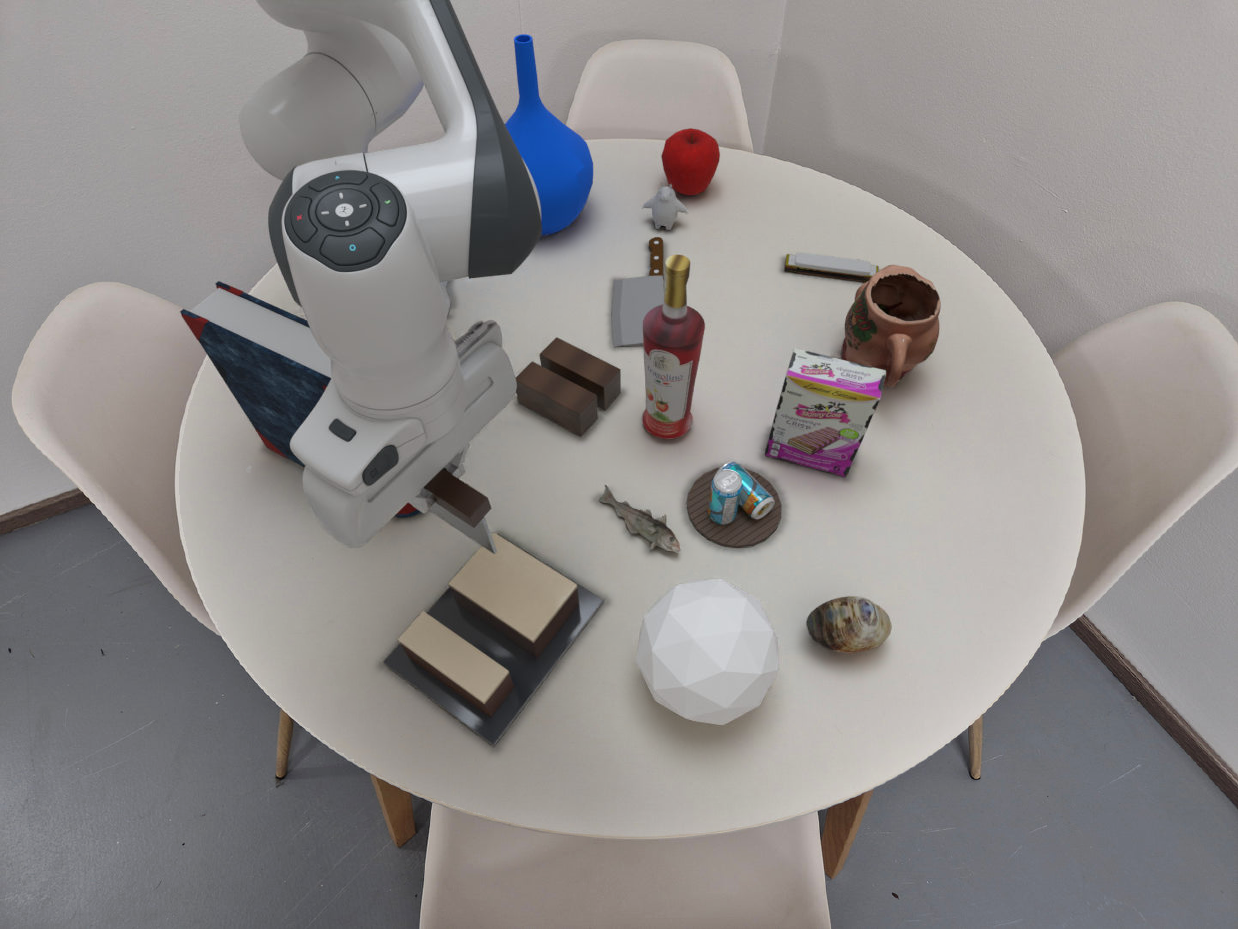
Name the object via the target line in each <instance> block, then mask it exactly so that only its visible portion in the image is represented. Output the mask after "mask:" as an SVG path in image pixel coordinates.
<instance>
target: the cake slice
mask: <svg viewBox="0 0 1238 929" xmlns="http://www.w3.org/2000/svg"><path fill="white" fill-rule="evenodd" d="M397 641H398V643H400V644H401V646H402V648H403V649H404V651H405V652H406V654H407V656H408V657H409V658H410V659H412V660H413V661H414V662H416V663H417V664H418V665H420V666H421V667H423V668H424V669H425V670H427V671H428V672H429V673H431V674H432V675H433V676H435V677H436V678H438V679H439V680H440V681H442V682H443V683H444V684H446V685H447V686H448V687H450V688H451V689H452V690H454V691H455V692H457V693H458V694H459V695H461V696H462V697H463V698H465V699H466V700H467V701H469V702H470V703H471V704H473V705H474V706H476V707H477V708H478V709H480V710H481V711H482V712H484V713H485V714H486V715H488V716H489V717H492V715H493V714H494V713H495V712H496V710H497V709H498V708H499V706H500V705H501V704H502V702H503V701H504V700H505V699H506V697H507V696H508V695H509V693H510V692H511V691H512V690H513V688H514V685H513V682H512V679H511V677H510V674H509V671H508V670H507V669H505V668H504V667H502V666H501V665H500V664H498V663H497V662H495V661H494V660H492V659H491V658H490V657H488V656H487V655H485V654H484V653H482V652H481V651H480V650H478V649H477V648H475V647H474V646H473V645H471V644H470V643H468V642H467V641H465V640H464V639H463V638H461V637H460V636H458V635H457V634H455V633H454V632H453V631H451V630H450V629H448V628H447V627H445V626H444V625H443V624H441V623H440V622H438V621H437V620H436V619H434V618H433V617H431V616H430V615H428V614H427V611H424V610H422V611H421V613H419V615H418V616H417V617H416V618H415V619H414V620H413V622H411V624H410V625H409V626H408V627H407V628H406V629H405V630H404V631H403V632H402V634H401V635H400V636H399V637H398V638H397Z"/></svg>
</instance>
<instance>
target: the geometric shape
mask: <svg viewBox="0 0 1238 929" xmlns="http://www.w3.org/2000/svg"><path fill="white" fill-rule="evenodd" d="M766 612H767V611H766V610H765V608H764V606H763V604H762V602H761V600H760V598H758V597H757V596H754V594H750V593H749V592H747V591H745V590H743V589H741V588H739V587H737V586H736V585H735V584H734V585H733V584H732V583H730V582H728V581H726V580H725V579H722V578H719V577H718V578H706V579H705V578H704V579H692V580H689V581H685V582H683V583H682V582H681V583H679V584H676V585H675V586H673V587H672V588H671V589H670V590H668V591H667V592H666V593H665V594H663V595H662V596H661V597H659V598H658V600H657V601H656V602H655V603H654V604H653V605H652V606H651V607H650V609H649V610H648V611H647V612H646V613H645V615H644V616H643V619H642V623H641V626H640V630H639V636H638V638H639V639H638V644H637V649H636V650H637V651H636V659H635V663H636V665H637V668H638V669H639V671H640V673H641V675H642V677H643V679H644V681H645V683H646V686H647V687H648V689H649V691H650V694H651V695H652V698H653V699H654V702H656V703H658V704H659V705H661V706H662V707H664V708H666V709H668V710H670V711H672V712H673V713H675V714H677V715H679V716H681V717H682V718H684V719H686V720H689V721H693V722H697V723H705V724H712V725H719V726H724V725H726V724H728V723H730V722H732V721H734V720H736V719H738V718H740V717H742V716H743V715H745V714H747V713H749V712H751V711H752V710H755V709H757V708H758V707H760V706H761V704H762V702H763V700H764V699H765V696H766V695H767V693H768V691H769V689H770V688H771V686H772V684H773V682H774V680H775V679H776V676H777V675H778V673H779V671H780V669H781V668H780V652H779V638H778V636H777V633H776V632H775V630H774V627H773V625H772V624H771V621H770V619H769V617H768V615H767V613H766Z"/></svg>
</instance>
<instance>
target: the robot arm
mask: <svg viewBox="0 0 1238 929" xmlns="http://www.w3.org/2000/svg"><path fill="white" fill-rule="evenodd" d="M255 3H256V4H258V6H259V7H260V8H261V9H262V10H263V11H264V12H265V13H266V14H267V15H268V16H269V17H270V18H271V19H273V20H274V21H276V22H277V23H278V24H281V25H283V26H285V27H288V28H291V29H295V30H298V31H302V32H303V34H304V36H305V39H306V43H307V50H306V54H305V55H304V56H303V57H302V58H300V59H299V60H297V61H295V62H294V63H292V64H291V65H290V66H288V67H286V68H284V69H283V70H282V71H280V72H278V73H277V74H275V75H274V76H272V77H270V78H269V79H267V80H266V81H264V83H263V84H262V85H261V86H260V87H259V88H258V89H257V91H256V92H255V93H254V94H253V95H252V96H251V97H250V98H249V99H248V100H247V102H245V105H244V106H243V107H242V108H241V109H240V112H239V116H238V121H239V122H238V124H239V131H240V135H241V138H242V141H243V144H244V146H245V148H246V150H247V151H248V153H249V155H250V156H251V158H252V159H253V160H254V161H255V163H257V165H258V166H259V167H260V168H261V169H262V170H264V172H266V173H267V174H269V175H270V176H272V177H273V178H276V179H277V180H279V181H281V183H280V185H279V187H278V189H277V190H276V193H275V195H274V196H273V198H272V201H271V202H270V205H269V207H268V213H267V214H268V215H267V218H268V219H267V227H268V234H269V239H270V244H271V247H272V252H273V254H274V258H275V260H276V263H277V266H278V269H279V270H280V273H281V275H282V277H283V280H284V282H285V284H286V287H287V289H288V291H289V293H290V295H291V298H292V299H293V301H294V303H295V304H297V305H298V306H299V307H300V308H301V309H302V312H303V315H304V317H305V320H307V322H308V324H309V327H310V329H311V331H312V333H313V336H314V338H315V340H316V342H317V344H318V345H319V347H320V348H321V349H322V351H323V352H324V353H325V354H326V355H327V356H328V357H329V358H330V359H331V373H332V379H331V380H330V382H329V384H328V386H327V388H326V390H325V392H324V393H323V395H322V397H321V398H320V400H319V401H318V403H317V404H316V406H315V407H314V409H313V410H312V412H311V413H310V414H309V416H308V417H307V418H306V420H305V421H304V422H303V424H302V425H301V426H300V427H299V429H298V430H297V431H296V433H295V434H294V435H293V437H292V439H291V441H290V448H291V451H292V452H293V454H294V455H295V456H296V457H297V458H298V459H299V460H300V461H301V462H302V463H303V464H305V465H306V466H305V467H304V469H303V472H302V487H303V491H304V494H305V497H306V500H307V503H308V504H309V507H310V509H311V512H312V513H313V516H314V518H315V519H316V521H317V523H318V524H319V526H320V527H321V529H322V530H323V531H324V532H326V533H327V534H328V535H329V536H330V537H332V538H333V539H334V540H336V541H337V542H338V543H339V544H341V545H343V546H344V547H346V548H348V549H359V548H360V549H361V548H363V547H364V546H365V545H367V544H368V543H369V542H370V541H371V539H372V538H374V537H375V535H377V533H379V532H380V531H381V530H382V529H383V528H384V527H385V526H386V525H387V524H388V523H389V522H390V521H391V520H392V519H393V518H394V517H396V516H395V515H396V514H397V513H398V512H399V511H400V510H401V509H402V508H403V507H404V506H405V505H406V504H407V503H410V504H411V505H412V506H413V507H415V508H416V509H418V510H419V511H421V512H420V513H422V514H426V513H427V512H428V511H429V510H428V509H429V508H430V507H431V506H432V505H433V504H434V503H435V502H436V500H435V499H434V495H433V493H431V492H430V491H428V490H427V489H424V486H425V485H426V484H427V483H428V482H429V481H430V480H431V479H432V478H433V477H434V476H435V475H436V474H437V473H438V472H440V471H441V470H442V469H444V470H446V471H447V472H449V473H450V474H452V475H454V476H455V477H457V478H458V479H460V478H461V477H463V476H464V474H465V473H466V469H465V465H464V463H465V461H466V457H467V454H468V451H469V448H470V443H471V441H472V440H473V439H474V438H475V437H476V436H477V435H479V433H481V431H483V430H484V429H485V428H486V426H488V425H489V424H490V423H491V421H493V420H494V419H495V418H496V417H497V416H498V415H499V414H500V413H501V412H502V411H503V410H504V409H505V408H506V407H507V406H508V405H509V404H510V403H511V402H512V401H513V400H514V397H515V395H516V389H517V383H516V374H515V371H514V368H513V365H512V362H511V360H510V358H509V356H508V353H507V352H506V350H505V349H504V348H503V334H502V329H501V326H500V324H498V323H497V321H495V320H492V319H489V320H485V321H483V320H479V321H476V322H475V323H474V324H472V325H471V326H470V327H469V328H468V330H467V331H466V332H465V333H464V334H463V335H461V336H460V337H459V338H457V339H455V340H454V337H453V336H452V334H451V333H450V330H449V329H447V321H448V314H449V313H450V309H451V299H450V296H449V294H448V290H447V286H448V282H449V281H453V280H458V279H465V278H468V279H469V280H470V279H478V278H479V279H480V278H489V277H497V276H506V275H507V276H508V275H512V274H513V273H514V272H515V271H516V270H517V269H519V268H520V267H521V266H522V264H523V263H524V262H525V261H526V260H527V258H528V257H529V256H530V254H532V252H533V250H534V249H535V247H536V246H537V244H538V242H539V240H540V239H541V234H542V223H541V206H540V200H539V195H538V192H537V188H536V185H535V183H534V180H533V178H532V175H531V173H530V171H529V169H528V167H527V166H526V164H525V162H524V160H523V159H522V157H521V155H520V153H519V151H518V149H517V147H516V145H515V143H514V141H513V139H512V137H511V135H510V133H509V131H508V130H507V128H506V126H505V122H504V120H503V118H502V115H501V114H500V112H499V109H498V108H497V105H496V103H495V101H494V98H493V96H492V94H491V92H490V89H489V87H488V85H487V83H486V80H485V78H484V76H483V73H482V71H481V69H480V65H479V64H478V62H477V59H476V57H475V55H474V53H473V49H472V47H471V45H470V43H469V41H468V38H467V36H466V34H465V31H464V30H463V26H462V24H461V22H460V20H459V18H458V15H457V13H456V11H455V8H454V6H453V4H452V2H451V0H255ZM423 88H424V89H425V90H426V92H427V95H428V97H429V99H430V101H431V105H432V106H433V108H434V111H435V113H436V116H437V118H438V120H439V122H440V125H441V127H442V129H443V131H444V135H443V136H441V137H440V138H439V139H436V140H433V141H429V142H424V143H419V144H418V143H417V144H413V145H406V146H399V147H394V148H388V149H383V150H376V151H370V152H368V150H369V144H370V143H371V142H372V141H373V139H374V138H376V137H377V136H378V135H380V134H381V133H382V132H384V131H385V130H387V128H389V127H390V126H391V125H393V124H394V123H395V122H397V121H398V120H399V119H400V118H402V117H403V116H404V115H405V114H406V112H408V110H409V109H410V107H411V106H412V105H413V104H414V102H415V101H416V99H417V98H418V97H419V95H420V93H421V92H422V90H423Z"/></svg>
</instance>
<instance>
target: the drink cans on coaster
mask: <svg viewBox="0 0 1238 929" xmlns="http://www.w3.org/2000/svg"><path fill="white" fill-rule="evenodd" d="M686 500H687V501H686V510H687V514H688V518H689V520H690V522H691V524H692V525H693V527H694V529H695V530H696V531H697V532H698V533H699V534H701V536H703V537H704V538H706V540H708V541H709V542H712V543H715V544H717V545H719V546H721V547H727V548H734V549H742V548H747V547H748V548H749V547H754V546H756V545H759V544H760V543H762V542H764V541H766V540H767V539H768V538H770V536H771V535H772V534H773V533H775V531H776V530H777V528H778V525H779V523H780V522H781V519H782V502H781V499H780V496H779V493H778V491H777V490H776V489H775V487H774V486H773V484H772V483H771V482H770V481H769V480H768V479H766V478H765V477H764V476H763V475H761V474H760V473H759V472H756V471H754V470H751V469H749V468H745V467H743V465H741V464H740V463H737V462H736V461H735V460H734V459H733V460H732V459H731V460H728V461H727V462H725V463H723V464H722V466H721V467H716V468H714V469H713V468H712V469H711V470H709V471H706V472H704V473H703V474H702V475H700V476H699V477H698V478H697V479H695V480H694V482H693V484H692V485H691V487H690V488H689V491H688V493H687V499H686Z"/></svg>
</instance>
